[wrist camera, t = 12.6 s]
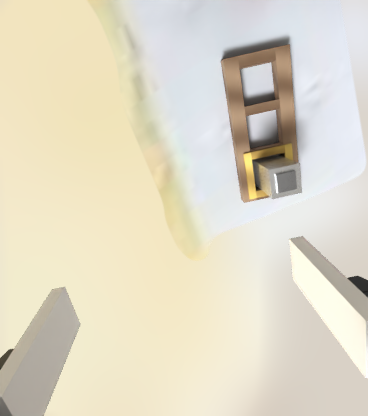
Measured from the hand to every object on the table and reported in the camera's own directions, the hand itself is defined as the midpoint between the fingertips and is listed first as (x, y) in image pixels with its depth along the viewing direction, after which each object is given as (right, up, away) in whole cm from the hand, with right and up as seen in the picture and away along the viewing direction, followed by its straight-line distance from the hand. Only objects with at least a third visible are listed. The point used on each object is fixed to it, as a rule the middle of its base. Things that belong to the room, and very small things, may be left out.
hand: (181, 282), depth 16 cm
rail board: (+13, +18, +31) cm, 38 cm away
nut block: (+15, +11, +34) cm, 38 cm away
